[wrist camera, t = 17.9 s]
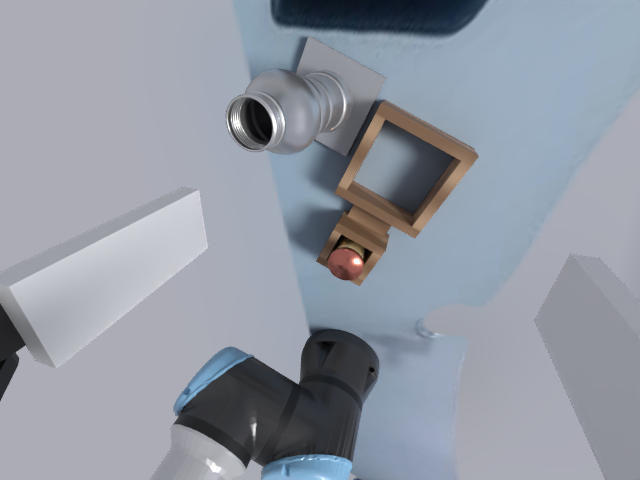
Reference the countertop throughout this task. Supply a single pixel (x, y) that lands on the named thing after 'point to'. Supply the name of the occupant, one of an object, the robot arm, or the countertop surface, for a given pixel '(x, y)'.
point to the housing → (379, 213)
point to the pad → (360, 82)
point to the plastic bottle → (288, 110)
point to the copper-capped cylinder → (347, 260)
